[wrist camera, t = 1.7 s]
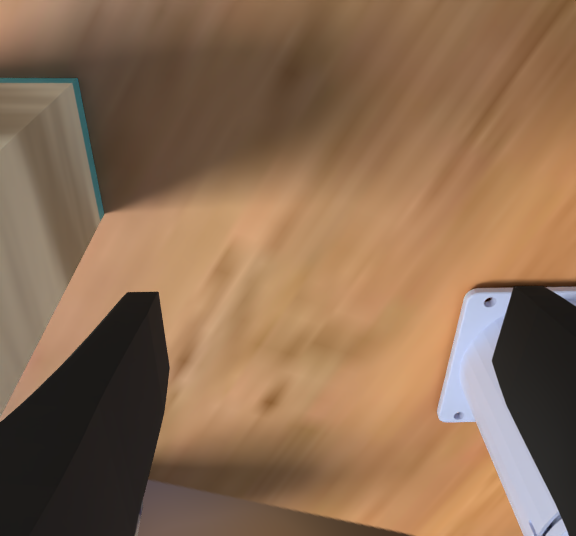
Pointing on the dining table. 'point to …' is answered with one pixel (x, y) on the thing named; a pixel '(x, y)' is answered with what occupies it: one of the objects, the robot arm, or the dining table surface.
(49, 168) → the birch block
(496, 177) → the dining table surface
